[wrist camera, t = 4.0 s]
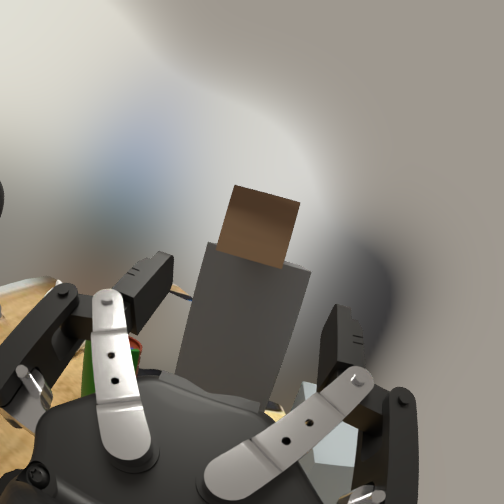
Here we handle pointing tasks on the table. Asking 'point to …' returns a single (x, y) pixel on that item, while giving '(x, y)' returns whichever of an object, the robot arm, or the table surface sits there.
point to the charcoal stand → (240, 325)
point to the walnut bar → (258, 226)
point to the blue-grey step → (329, 456)
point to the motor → (87, 372)
